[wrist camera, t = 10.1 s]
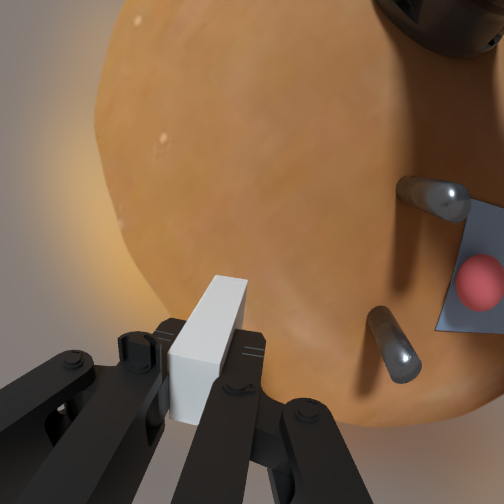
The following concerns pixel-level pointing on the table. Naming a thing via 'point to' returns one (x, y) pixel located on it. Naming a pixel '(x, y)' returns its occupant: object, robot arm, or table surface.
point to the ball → (480, 282)
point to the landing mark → (473, 242)
